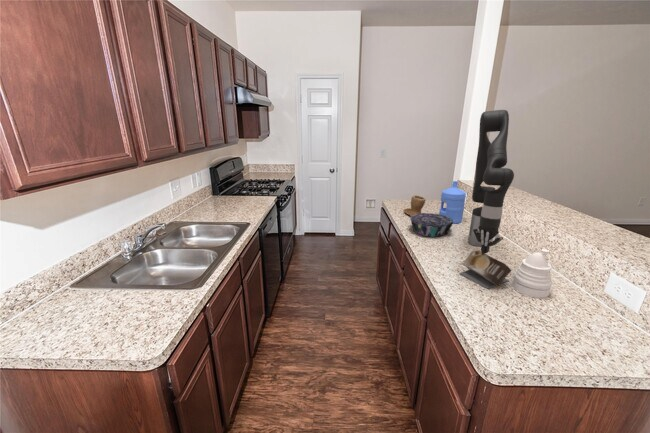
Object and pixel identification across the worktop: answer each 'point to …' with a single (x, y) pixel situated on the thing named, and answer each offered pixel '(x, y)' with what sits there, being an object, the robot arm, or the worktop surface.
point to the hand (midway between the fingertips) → (484, 252)
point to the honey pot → (533, 276)
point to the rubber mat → (480, 279)
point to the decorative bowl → (431, 224)
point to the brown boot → (415, 205)
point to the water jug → (453, 203)
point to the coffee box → (487, 267)
